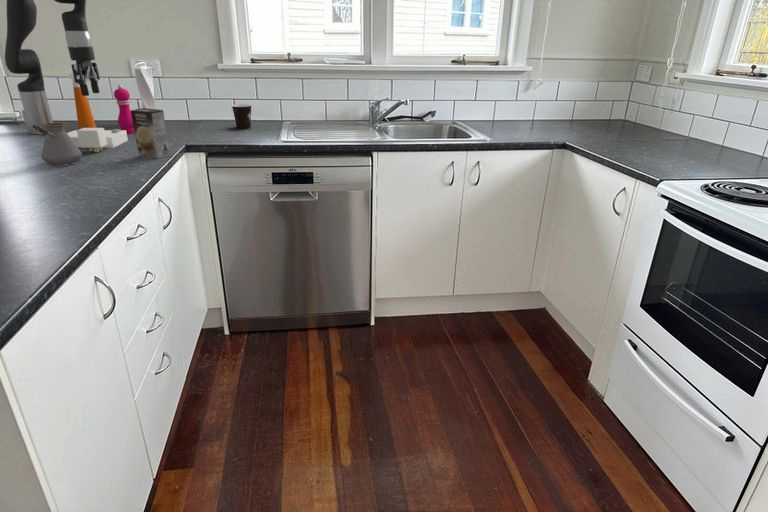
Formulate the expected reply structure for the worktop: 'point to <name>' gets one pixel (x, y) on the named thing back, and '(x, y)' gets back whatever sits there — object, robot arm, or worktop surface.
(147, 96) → the skyscraper
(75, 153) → the coffee pot
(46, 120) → the robot arm
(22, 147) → the worktop surface
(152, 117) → the coffee box
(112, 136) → the socket
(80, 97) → the spray bottle
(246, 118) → the coffee mug
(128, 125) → the pepper mill
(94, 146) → the plug
